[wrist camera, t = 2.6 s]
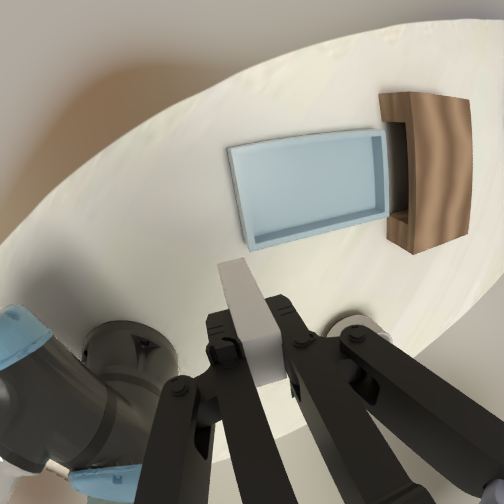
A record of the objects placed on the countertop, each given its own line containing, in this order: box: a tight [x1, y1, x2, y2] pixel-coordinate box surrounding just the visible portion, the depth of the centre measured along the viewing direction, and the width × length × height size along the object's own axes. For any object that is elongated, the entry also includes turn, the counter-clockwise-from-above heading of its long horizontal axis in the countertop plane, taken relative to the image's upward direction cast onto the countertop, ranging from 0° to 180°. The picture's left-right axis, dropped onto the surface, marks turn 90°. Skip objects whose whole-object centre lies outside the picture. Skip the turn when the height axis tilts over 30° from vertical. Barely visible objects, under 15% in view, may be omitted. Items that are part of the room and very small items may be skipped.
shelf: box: [379, 92, 473, 255], centre depth 35 cm, size 14×22×6 cm, turn 10°
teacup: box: [327, 315, 392, 344], centre depth 44 cm, size 14×11×8 cm
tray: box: [227, 129, 389, 252], centre depth 34 cm, size 20×12×3 cm, turn 100°
